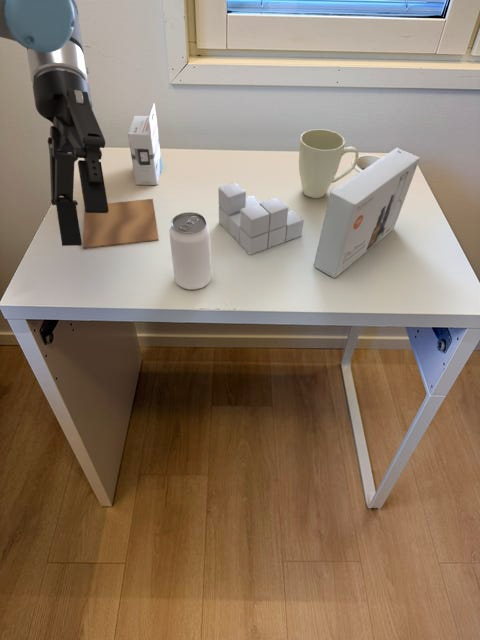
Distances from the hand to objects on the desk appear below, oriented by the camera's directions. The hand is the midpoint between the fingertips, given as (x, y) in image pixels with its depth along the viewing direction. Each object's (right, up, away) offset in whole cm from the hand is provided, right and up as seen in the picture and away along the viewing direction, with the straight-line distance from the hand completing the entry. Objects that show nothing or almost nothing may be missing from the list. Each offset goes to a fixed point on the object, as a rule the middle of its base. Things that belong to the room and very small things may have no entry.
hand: (83, 230), depth 64 cm
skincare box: (+44, +2, +26) cm, 51 cm away
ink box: (+1, +20, +42) cm, 47 cm away
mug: (+39, +16, +39) cm, 57 cm away
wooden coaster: (-2, +7, +29) cm, 30 cm away
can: (+13, -5, +19) cm, 24 cm away
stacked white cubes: (+25, +6, +29) cm, 39 cm away
